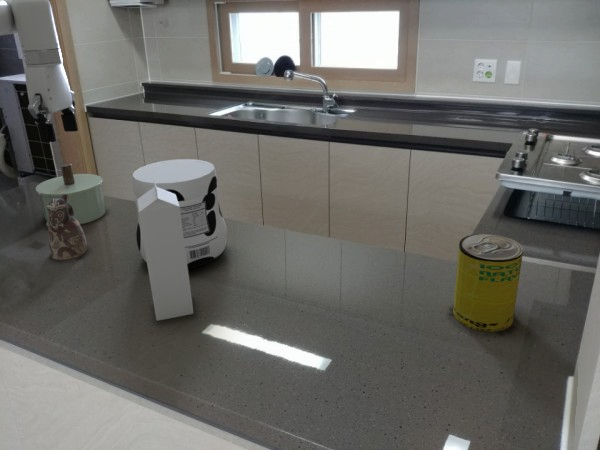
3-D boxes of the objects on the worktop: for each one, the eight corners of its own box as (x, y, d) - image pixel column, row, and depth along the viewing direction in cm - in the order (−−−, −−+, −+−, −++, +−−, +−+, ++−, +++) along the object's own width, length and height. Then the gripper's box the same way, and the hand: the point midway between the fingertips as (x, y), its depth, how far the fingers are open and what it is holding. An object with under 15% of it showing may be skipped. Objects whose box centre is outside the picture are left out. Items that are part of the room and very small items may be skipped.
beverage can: (525, 318, 83) (536, 248, 78) (487, 338, 79) (496, 265, 74) (478, 294, 90) (485, 229, 85) (440, 312, 86) (446, 243, 81)
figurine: (43, 257, 109) (29, 202, 104) (68, 243, 115) (56, 190, 110) (71, 261, 107) (58, 205, 102) (95, 246, 113) (84, 193, 108)
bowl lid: (23, 198, 121) (17, 174, 119) (57, 178, 135) (52, 156, 133) (85, 199, 120) (80, 175, 118) (113, 178, 133) (109, 156, 131)
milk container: (170, 234, 117) (159, 155, 110) (243, 243, 112) (236, 160, 105) (122, 271, 102) (105, 181, 95) (202, 283, 97) (191, 189, 90)
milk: (189, 296, 93) (174, 174, 84) (193, 314, 87) (178, 186, 79) (153, 303, 91) (134, 179, 82) (155, 321, 86) (135, 191, 77)
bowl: (34, 225, 125) (26, 195, 122) (64, 204, 137) (58, 176, 134) (89, 226, 123) (83, 195, 120) (115, 205, 136) (109, 176, 133)
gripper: (48, 54, 124) (64, 127, 131) (2, 63, 108) (23, 146, 115) (79, 53, 123) (93, 127, 130) (37, 62, 107) (56, 145, 114)
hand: (60, 136), depth 122 cm, fingers open, 9 cm apart
